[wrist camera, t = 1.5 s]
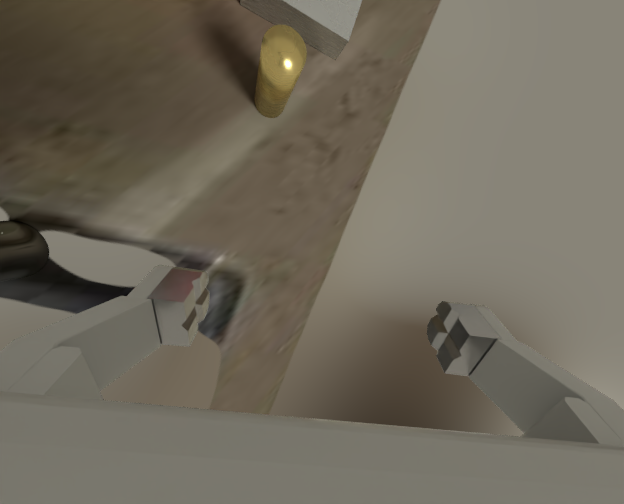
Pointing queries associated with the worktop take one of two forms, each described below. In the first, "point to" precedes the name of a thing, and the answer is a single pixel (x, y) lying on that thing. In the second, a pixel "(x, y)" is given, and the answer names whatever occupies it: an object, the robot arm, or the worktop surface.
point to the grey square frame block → (312, 20)
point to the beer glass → (21, 251)
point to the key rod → (278, 69)
